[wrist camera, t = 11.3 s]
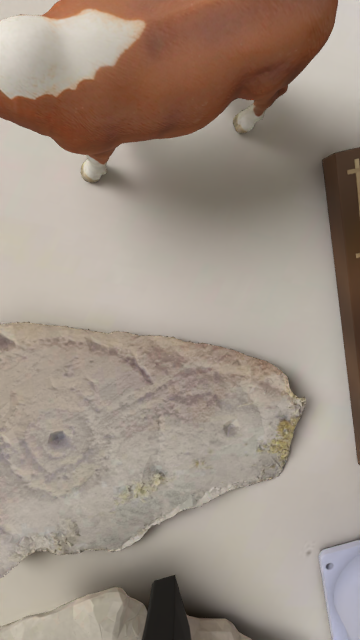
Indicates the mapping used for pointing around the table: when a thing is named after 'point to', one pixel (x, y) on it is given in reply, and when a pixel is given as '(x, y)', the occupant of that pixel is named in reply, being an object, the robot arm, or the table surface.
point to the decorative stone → (126, 434)
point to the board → (347, 261)
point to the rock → (106, 621)
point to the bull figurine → (151, 67)
